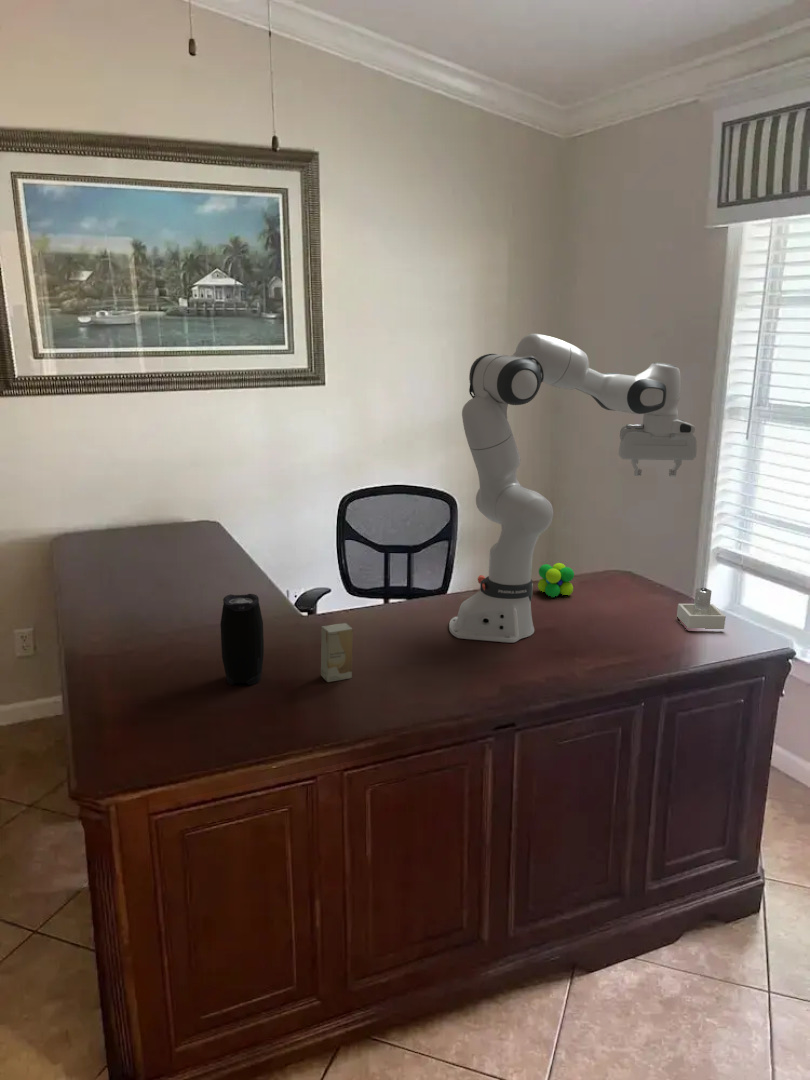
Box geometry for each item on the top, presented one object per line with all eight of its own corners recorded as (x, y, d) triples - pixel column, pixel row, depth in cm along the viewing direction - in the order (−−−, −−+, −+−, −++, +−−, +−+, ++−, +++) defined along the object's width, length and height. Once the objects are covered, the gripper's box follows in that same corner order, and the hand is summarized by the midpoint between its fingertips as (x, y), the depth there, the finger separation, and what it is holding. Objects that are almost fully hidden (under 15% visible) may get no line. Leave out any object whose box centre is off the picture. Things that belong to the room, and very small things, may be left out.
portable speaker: (216, 678, 196) (212, 597, 191) (252, 668, 202) (250, 589, 197) (234, 691, 190) (231, 607, 185) (271, 680, 196) (269, 599, 190)
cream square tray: (687, 631, 229) (689, 615, 228) (676, 618, 239) (678, 603, 237) (723, 632, 229) (725, 616, 228) (711, 619, 239) (712, 604, 237)
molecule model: (549, 600, 252) (575, 597, 255) (550, 571, 250) (577, 568, 253) (534, 590, 260) (560, 588, 263) (536, 563, 258) (562, 560, 261)
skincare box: (327, 683, 195) (327, 632, 192) (320, 675, 199) (319, 626, 195) (353, 678, 198) (353, 628, 194) (345, 670, 201) (345, 621, 198)
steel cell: (694, 626, 232) (698, 591, 229) (690, 620, 236) (693, 586, 233) (709, 626, 232) (713, 591, 229) (704, 621, 236) (708, 586, 233)
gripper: (623, 425, 226) (619, 477, 230) (701, 427, 226) (695, 478, 230) (617, 422, 232) (613, 473, 236) (693, 423, 233) (688, 474, 236)
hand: (655, 475), depth 233 cm, fingers open, 8 cm apart
